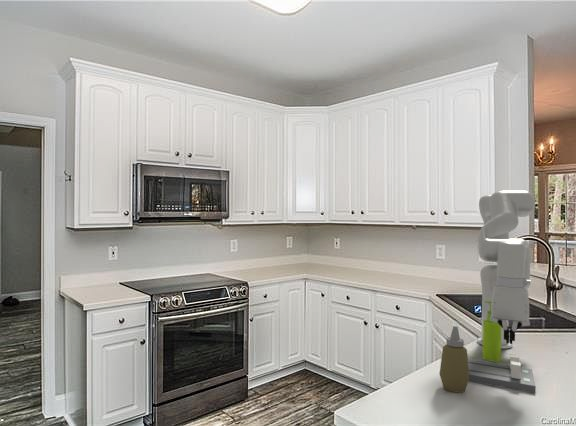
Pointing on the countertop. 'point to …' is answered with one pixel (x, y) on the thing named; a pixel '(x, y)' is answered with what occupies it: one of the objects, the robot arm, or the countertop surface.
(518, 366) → the block
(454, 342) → the squeeze bottle
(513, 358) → the block
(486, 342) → the soap dispenser
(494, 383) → the slider switch panel
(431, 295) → the countertop surface
